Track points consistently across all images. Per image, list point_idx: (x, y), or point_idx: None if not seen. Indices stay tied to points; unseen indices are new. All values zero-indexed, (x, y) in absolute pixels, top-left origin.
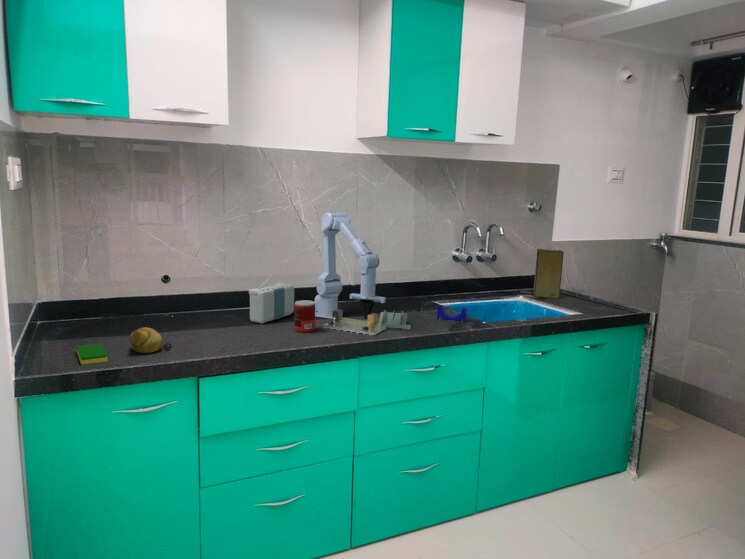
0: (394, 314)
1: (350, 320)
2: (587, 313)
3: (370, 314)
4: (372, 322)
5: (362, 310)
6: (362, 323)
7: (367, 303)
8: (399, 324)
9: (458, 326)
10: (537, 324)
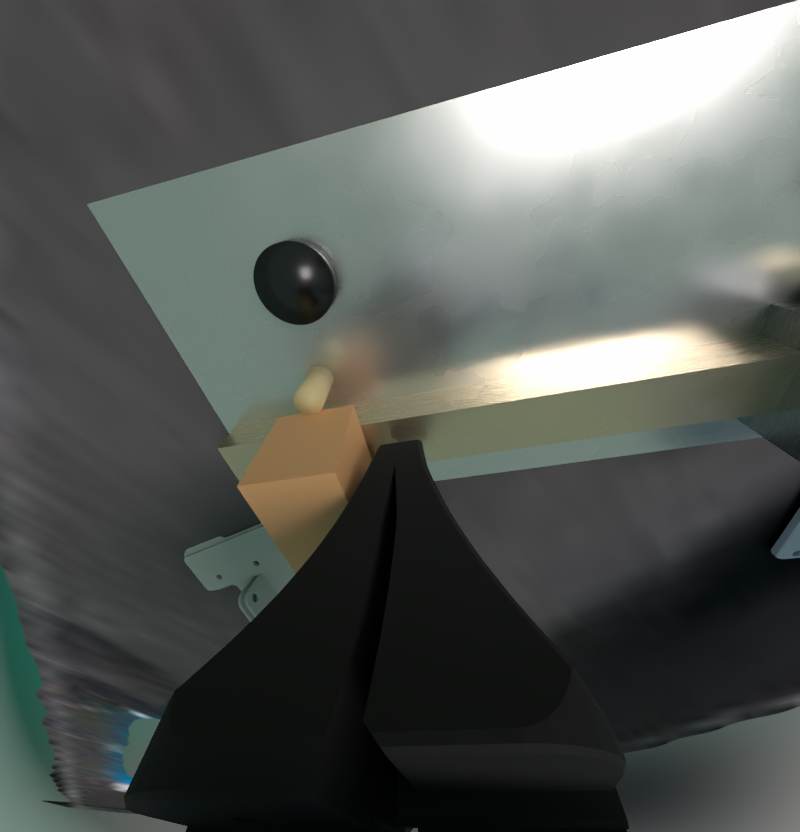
0: None
1: (609, 381)
2: (112, 792)
3: (327, 510)
4: (287, 421)
5: (450, 518)
6: (437, 401)
7: (218, 745)
8: (261, 572)
9: (125, 667)
10: (51, 741)
